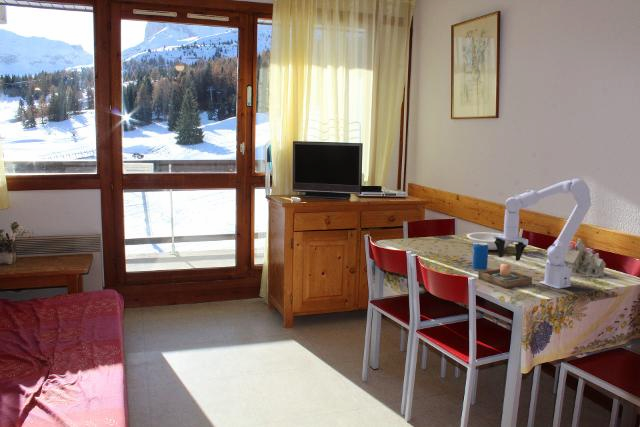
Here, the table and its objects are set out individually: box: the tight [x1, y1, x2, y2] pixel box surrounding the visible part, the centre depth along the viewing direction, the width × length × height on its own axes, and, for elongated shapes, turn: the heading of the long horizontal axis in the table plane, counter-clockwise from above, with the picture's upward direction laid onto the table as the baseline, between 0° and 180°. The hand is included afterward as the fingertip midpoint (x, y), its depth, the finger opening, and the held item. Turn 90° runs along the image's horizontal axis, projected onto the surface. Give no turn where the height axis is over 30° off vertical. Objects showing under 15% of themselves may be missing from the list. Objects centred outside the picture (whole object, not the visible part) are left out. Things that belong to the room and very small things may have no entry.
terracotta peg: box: [499, 263, 512, 278], centre depth 231 cm, size 4×4×6 cm
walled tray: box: [477, 268, 533, 290], centre depth 231 cm, size 16×14×3 cm
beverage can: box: [471, 242, 489, 272], centre depth 249 cm, size 6×6×12 cm
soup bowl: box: [466, 231, 512, 251], centre depth 290 cm, size 24×24×7 cm
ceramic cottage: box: [564, 238, 607, 278], centre depth 244 cm, size 16×16×15 cm
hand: (509, 258), depth 232 cm, fingers open, 7 cm apart
